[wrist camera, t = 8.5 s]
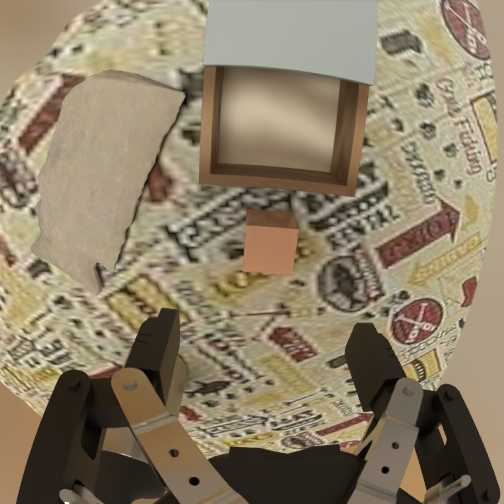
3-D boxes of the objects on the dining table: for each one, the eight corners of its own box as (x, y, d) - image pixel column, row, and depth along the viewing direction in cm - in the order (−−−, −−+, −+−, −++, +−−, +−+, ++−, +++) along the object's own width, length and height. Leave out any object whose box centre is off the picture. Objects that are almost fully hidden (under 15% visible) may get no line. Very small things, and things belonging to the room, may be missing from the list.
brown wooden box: (334, 179, 27) (354, 197, 22) (210, 169, 26) (199, 184, 21) (349, 26, 20) (372, 8, 14) (221, 11, 19) (213, -13, 14)
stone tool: (112, 288, 34) (197, 97, 23) (99, 306, 30) (187, 95, 20) (37, 241, 31) (94, 53, 21) (20, 254, 28) (73, 49, 17)
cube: (286, 252, 31) (291, 274, 27) (244, 249, 30) (242, 271, 26) (292, 212, 29) (299, 229, 25) (247, 208, 28) (246, 225, 24)
